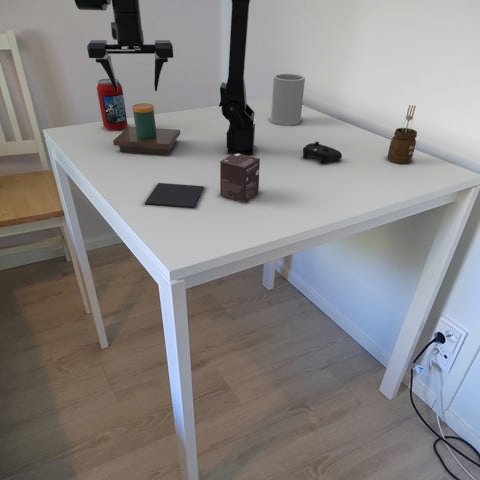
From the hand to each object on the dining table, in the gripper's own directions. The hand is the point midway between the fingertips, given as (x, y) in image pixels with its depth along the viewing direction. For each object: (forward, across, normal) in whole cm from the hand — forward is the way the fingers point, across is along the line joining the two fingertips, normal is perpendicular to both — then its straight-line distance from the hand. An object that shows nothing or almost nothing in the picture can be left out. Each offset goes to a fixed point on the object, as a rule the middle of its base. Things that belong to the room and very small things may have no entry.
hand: (136, 91), depth 102 cm
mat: (+13, -7, +31) cm, 35 cm away
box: (+13, -20, +32) cm, 40 cm away
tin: (+10, -1, +2) cm, 10 cm away
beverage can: (+13, +8, -17) cm, 23 cm away
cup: (+13, -43, -20) cm, 49 cm away
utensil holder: (+13, -64, +16) cm, 67 cm away
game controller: (+13, -44, +13) cm, 47 cm away
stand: (+13, -2, +1) cm, 13 cm away
